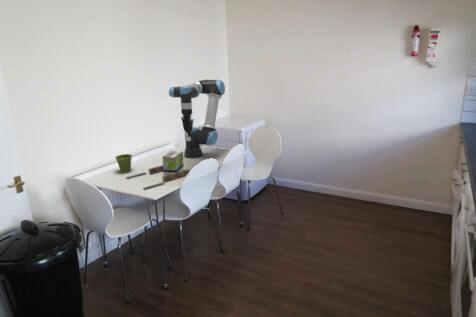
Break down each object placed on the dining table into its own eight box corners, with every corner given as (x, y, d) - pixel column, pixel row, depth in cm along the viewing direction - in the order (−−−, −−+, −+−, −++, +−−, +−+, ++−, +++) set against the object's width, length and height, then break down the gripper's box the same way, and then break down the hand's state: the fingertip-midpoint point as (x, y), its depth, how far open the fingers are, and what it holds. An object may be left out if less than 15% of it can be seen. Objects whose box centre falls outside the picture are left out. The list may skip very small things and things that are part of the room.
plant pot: (124, 167, 267) (122, 153, 263) (137, 169, 262) (135, 155, 259) (113, 172, 256) (111, 158, 253) (126, 174, 252) (124, 159, 248)
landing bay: (144, 173, 253) (144, 172, 253) (164, 184, 233) (163, 183, 233) (126, 178, 245) (126, 177, 244) (144, 190, 224) (144, 188, 224)
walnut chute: (174, 167, 265) (174, 162, 264) (190, 174, 249) (190, 169, 248) (149, 173, 252) (148, 168, 251) (164, 182, 236) (164, 176, 235)
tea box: (177, 177, 245) (175, 157, 240) (163, 176, 247) (161, 156, 242) (184, 170, 259) (183, 150, 254) (171, 169, 261) (169, 150, 256)
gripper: (177, 107, 250) (179, 140, 257) (187, 110, 240) (189, 143, 248) (186, 106, 255) (188, 138, 262) (196, 108, 245) (198, 141, 252)
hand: (188, 140), depth 255 cm, fingers closed
